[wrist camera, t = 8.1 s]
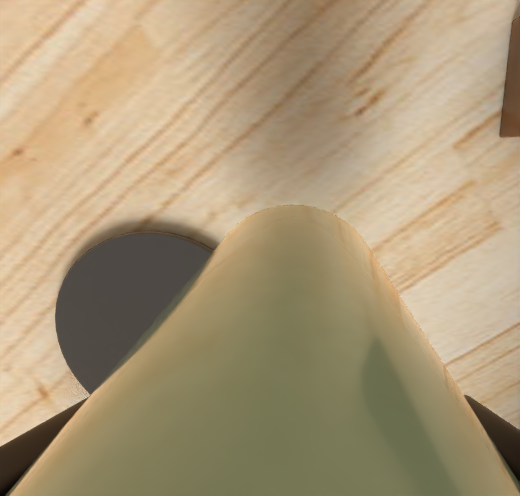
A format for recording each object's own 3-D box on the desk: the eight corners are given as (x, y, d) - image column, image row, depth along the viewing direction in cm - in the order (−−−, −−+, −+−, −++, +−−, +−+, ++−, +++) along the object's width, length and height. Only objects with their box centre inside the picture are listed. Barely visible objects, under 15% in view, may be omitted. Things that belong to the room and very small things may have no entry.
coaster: (305, 384, 20) (305, 390, 20) (131, 447, 23) (127, 454, 22) (199, 190, 18) (196, 191, 17) (20, 285, 21) (13, 289, 20)
